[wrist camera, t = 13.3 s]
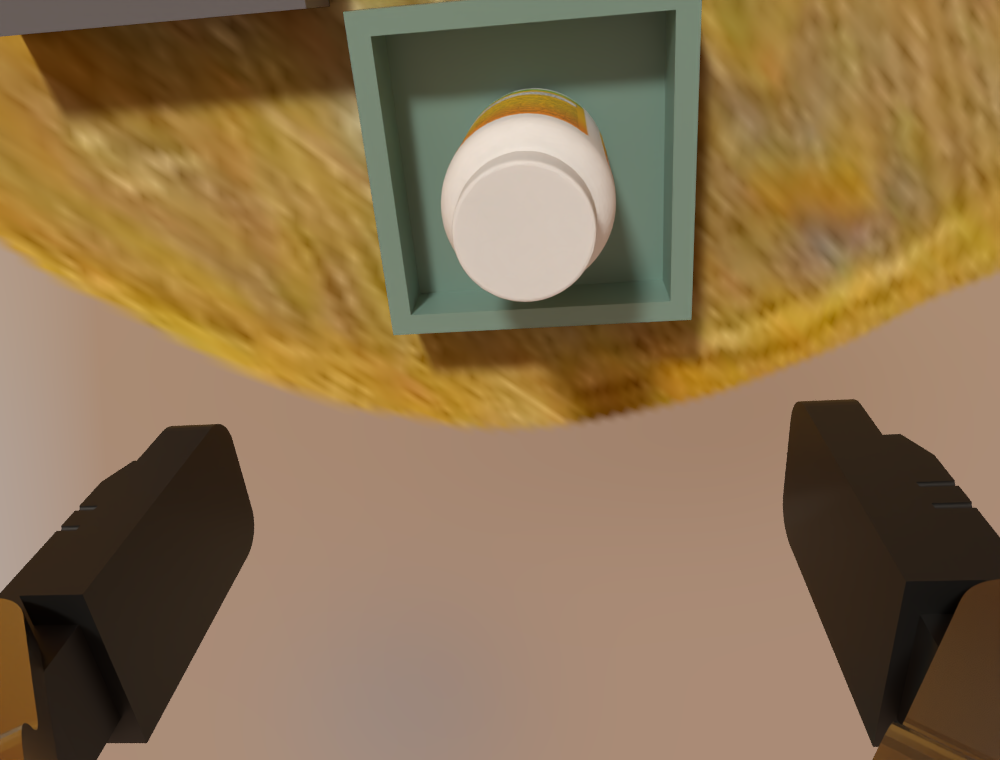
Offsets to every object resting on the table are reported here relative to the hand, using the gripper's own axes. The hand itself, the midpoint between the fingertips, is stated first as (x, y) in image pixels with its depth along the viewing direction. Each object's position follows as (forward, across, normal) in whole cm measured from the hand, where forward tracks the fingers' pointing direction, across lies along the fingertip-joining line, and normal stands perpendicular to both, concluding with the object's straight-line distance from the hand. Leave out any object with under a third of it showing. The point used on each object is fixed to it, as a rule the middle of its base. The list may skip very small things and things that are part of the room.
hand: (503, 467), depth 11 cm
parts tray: (+22, 0, 0) cm, 22 cm away
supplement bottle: (+21, 0, 0) cm, 21 cm away
